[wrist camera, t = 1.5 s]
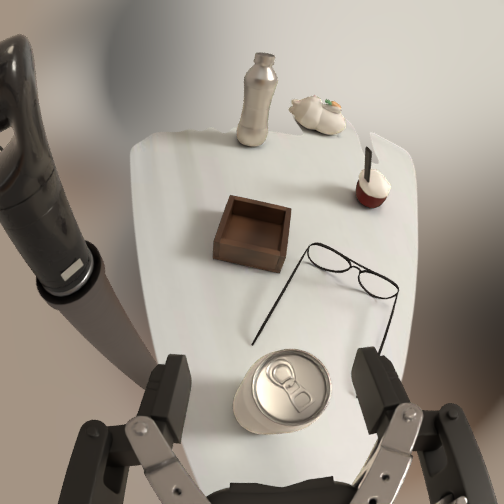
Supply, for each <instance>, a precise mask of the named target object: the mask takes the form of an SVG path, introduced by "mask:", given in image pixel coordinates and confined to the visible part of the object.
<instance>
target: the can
mask: <svg viewBox="0 0 504 504" xmlns="http://www.w3.org/2000/svg"><path fill="white" fill-rule="evenodd" d="M331 390H332V386H331V379H330V376H329V373H328V371H327V369H326V368H325V366H324V365H323V364H322V362H321V361H320V360H319V359H317V358H316V357H315V356H313V355H312V354H310V353H308V352H305V351H302V350H298V349H284V350H280V351H275V352H272V353H269V354H267V355H265V356H263V357H261V358H260V359H259V360H257V361H256V362H255V363H254V364H253V365H252V366H251V368H250V369H249V370H248V372H247V374H246V375H245V377H244V379H243V381H242V383H241V384H240V386H239V388H238V390H237V392H236V394H235V397H234V400H233V411H234V415H235V417H236V419H237V421H238V422H239V424H240V425H241V426H242V427H244V428H245V429H246V430H248V431H250V432H252V433H256V434H263V435H266V434H281V433H290V432H295V431H299V430H302V429H304V428H306V427H308V426H310V425H311V424H312V423H314V422H315V421H316V420H317V419H318V418H319V417H320V416H321V414H322V413H323V411H324V410H325V408H326V407H327V405H328V403H329V400H330V397H331Z"/></svg>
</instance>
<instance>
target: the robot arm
mask: <svg viewBox="0 0 504 504" xmlns="http://www.w3.org/2000/svg"><path fill="white" fill-rule="evenodd" d="M9 127H12V128H13V130H14V136H13V138H12V139H11V141H10V142H9V143H8V144H7V146H6V147H5V148H4V149H3V148H2V147H1V146H0V150H1V152H0V223H1V225H2V226H3V228H4V230H5V231H6V233H7V234H8V236H9V238H10V239H11V241H12V242H13V244H14V245H15V247H16V248H17V250H18V251H19V253H20V254H21V256H22V257H23V259H24V260H25V261H26V263H27V264H28V266H29V267H30V268H31V270H32V271H33V273H34V274H35V275H36V277H37V278H38V279H39V281H40V282H41V284H42V285H43V287H44V288H45V289H46V290H47V292H49V293H50V294H52V295H54V296H58V297H64V296H69V295H72V294H74V293H76V292H77V291H79V290H80V289H81V288H82V287H83V286H84V285H85V284H86V283H87V282H88V280H89V278H90V277H91V274H92V272H93V267H94V260H93V256H92V254H91V252H90V250H89V248H88V247H87V245H86V243H85V241H84V238H83V236H82V234H81V232H80V229H79V227H78V224H77V222H76V220H75V217H74V215H73V212H72V210H71V208H70V205H69V202H68V200H67V197H66V195H65V192H64V189H63V186H62V184H61V181H60V178H59V175H58V172H57V170H56V166H55V163H54V160H53V157H52V154H51V151H50V148H49V144H48V141H47V137H46V133H45V130H44V125H43V121H42V117H41V112H40V106H39V99H38V91H37V82H36V73H35V63H34V56H33V51H32V47H31V44H30V42H29V40H28V38H27V37H26V36H24V35H21V34H18V35H15V36H12V37H10V38H7V39H5V40H3V41H1V42H0V132H2V131H4V130H6V129H7V128H9ZM351 377H352V382H353V385H354V388H355V391H356V394H357V397H358V401H359V404H360V407H361V410H362V413H363V416H364V420H365V423H366V426H367V430H368V433H369V435H370V434H374V433H377V436H378V439H377V441H376V443H375V445H374V447H373V449H372V451H371V453H370V455H369V457H368V458H367V460H366V462H365V464H364V466H363V468H362V469H361V471H360V473H359V474H358V476H357V477H356V479H355V480H354V482H353V483H352V485H350V484H347V483H343V482H337V481H334V480H333V476H331V477H324V478H317V479H309V480H306V481H303V482H300V483H296V484H293V485H290V486H287V487H275V486H269V485H263V484H258V483H230V488H225V489H222V490H219V491H216V492H214V493H212V494H210V495H208V496H207V497H206V496H205V495H204V494H203V493H202V491H201V490H200V489H199V487H198V486H197V485H196V484H195V482H194V481H193V480H192V478H191V477H190V475H189V474H188V473H187V471H186V470H185V468H184V467H183V465H182V464H181V463H180V461H179V460H178V458H177V457H176V455H175V454H174V452H173V451H172V447H173V443H180V444H181V438H182V433H183V427H184V422H185V417H186V411H187V406H188V401H189V396H190V391H191V374H190V370H189V367H188V363H187V359H186V356H185V355H177V354H169V355H168V357H167V360H166V363H165V365H164V364H158V365H157V366H156V367H155V369H154V370H153V371H152V372H151V375H150V378H149V382H148V384H147V387H146V390H145V393H144V396H143V399H142V402H141V405H140V408H139V411H138V414H137V416H136V417H134V418H132V419H131V420H129V421H128V423H127V424H124V425H119V426H106V425H105V424H104V423H102V422H101V421H98V420H90V421H87V422H86V423H84V424H83V425H82V427H81V429H80V431H79V434H78V437H77V440H76V443H75V446H74V449H73V452H72V455H71V458H70V462H69V465H68V468H67V472H66V475H65V479H64V482H63V486H62V490H61V494H60V498H59V501H58V504H123V501H124V494H125V488H126V483H127V477H128V472H129V467H130V466H135V465H142V467H143V469H144V474H145V476H146V478H147V480H148V481H149V483H150V485H151V487H152V488H153V490H154V491H155V493H156V495H157V496H158V498H159V500H160V501H161V503H162V504H393V503H394V500H395V498H396V496H397V494H398V492H399V490H400V488H401V486H402V483H403V481H404V479H405V477H406V474H407V472H408V469H409V467H410V464H411V462H412V459H413V456H412V455H411V453H412V451H417V453H418V456H419V460H420V463H421V467H422V471H423V475H424V478H425V483H426V486H427V491H428V495H429V499H430V504H498V503H497V500H496V496H495V493H494V489H493V486H492V483H491V480H490V477H489V474H488V471H487V468H486V465H485V463H484V460H483V457H482V454H481V452H480V449H479V447H478V445H477V442H476V439H475V437H474V435H473V432H472V430H471V427H470V425H469V423H468V421H467V418H466V416H465V414H464V412H463V410H462V408H460V407H459V406H458V405H456V404H452V403H448V404H446V405H444V406H442V408H441V409H440V410H439V411H424V410H421V408H420V407H419V406H418V405H416V404H413V403H411V402H410V400H409V398H408V396H407V394H406V392H405V389H404V387H403V385H402V383H401V381H400V379H399V378H398V375H397V373H396V372H395V369H394V366H393V364H392V362H391V361H390V360H388V359H387V358H386V357H385V356H384V355H383V356H379V355H378V353H377V351H376V349H375V347H365V348H359V349H358V350H357V353H356V357H355V360H354V364H353V367H352V372H351Z"/></svg>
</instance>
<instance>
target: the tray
mask: <svg viewBox="0 0 504 504" xmlns="http://www.w3.org/2000/svg"><path fill="white" fill-rule="evenodd" d="M290 218H291V208H287V207H283V206H279V205H274V204H270V203H266V202H261V201H256V200H252V199H247V198H243V197H238V196H233V195H230V196H229V199H228V202H227V204H226V207H225V210H224V213H223V216H222V219H221V221H220V224H219V227H218V230H217V233H216V236H215V239H214V243H213V259H217V260H222V261H226V262H231V263H235V264H240V265H244V266H249V267H253V268H258V269H262V270H267V271H271V272H276V273H280V271H281V269H282V266H283V264H284V261H285V258H286V253H287V244H288V236H289V227H290Z"/></svg>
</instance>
